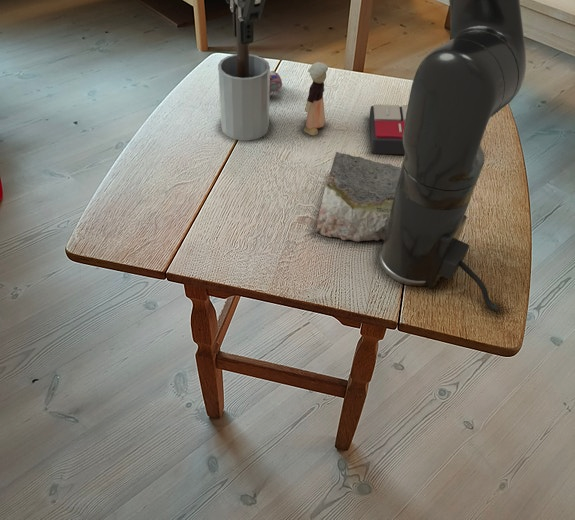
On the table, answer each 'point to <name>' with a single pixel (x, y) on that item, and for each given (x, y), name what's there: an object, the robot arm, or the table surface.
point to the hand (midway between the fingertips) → (243, 38)
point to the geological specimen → (357, 199)
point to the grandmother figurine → (316, 99)
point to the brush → (242, 54)
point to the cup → (244, 98)
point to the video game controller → (275, 81)
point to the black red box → (387, 128)
